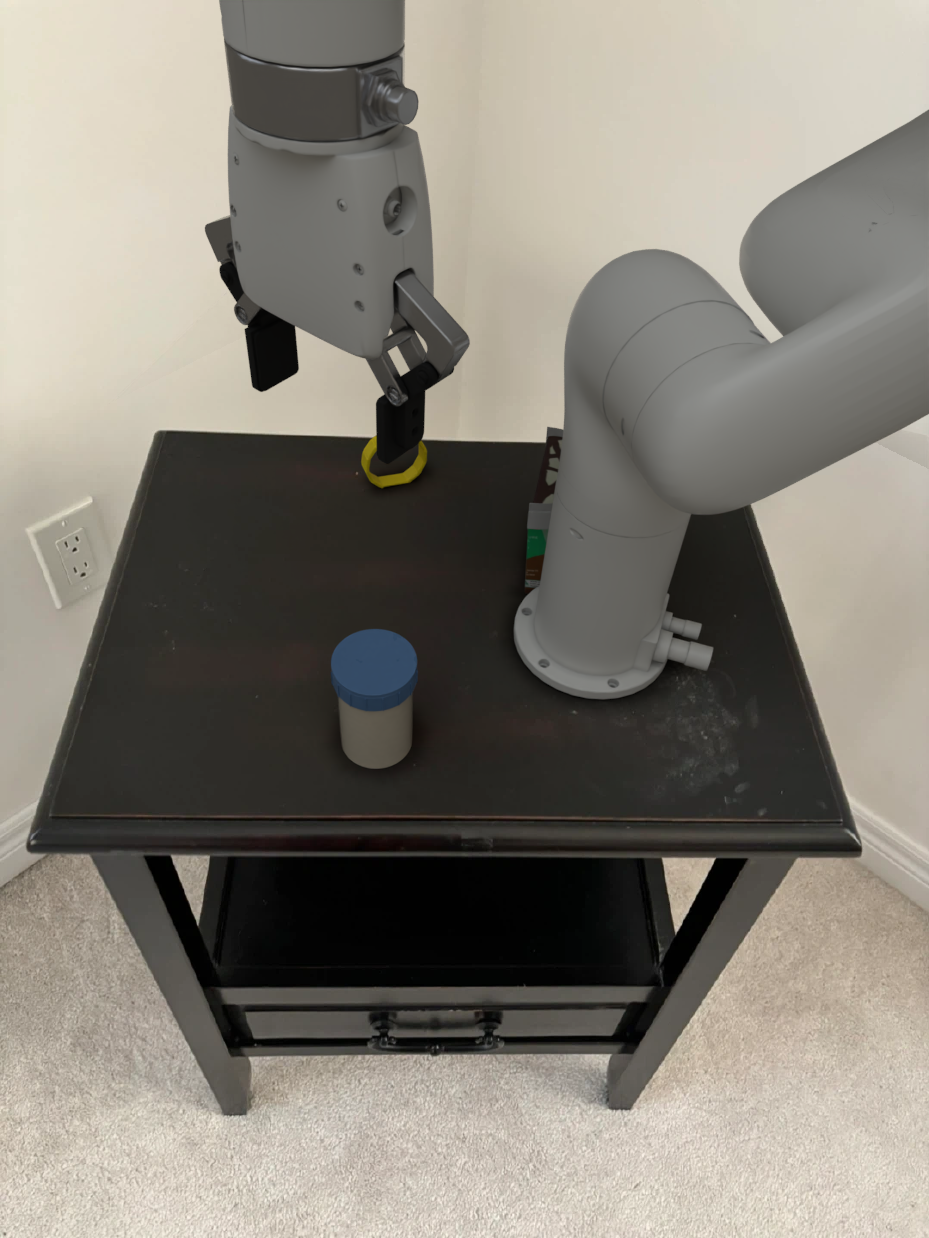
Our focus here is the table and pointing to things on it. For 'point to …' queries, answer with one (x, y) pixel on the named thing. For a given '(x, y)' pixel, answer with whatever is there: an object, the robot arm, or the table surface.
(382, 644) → the lid
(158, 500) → the table surface
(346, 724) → the jar
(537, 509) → the food container
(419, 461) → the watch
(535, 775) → the table surface
